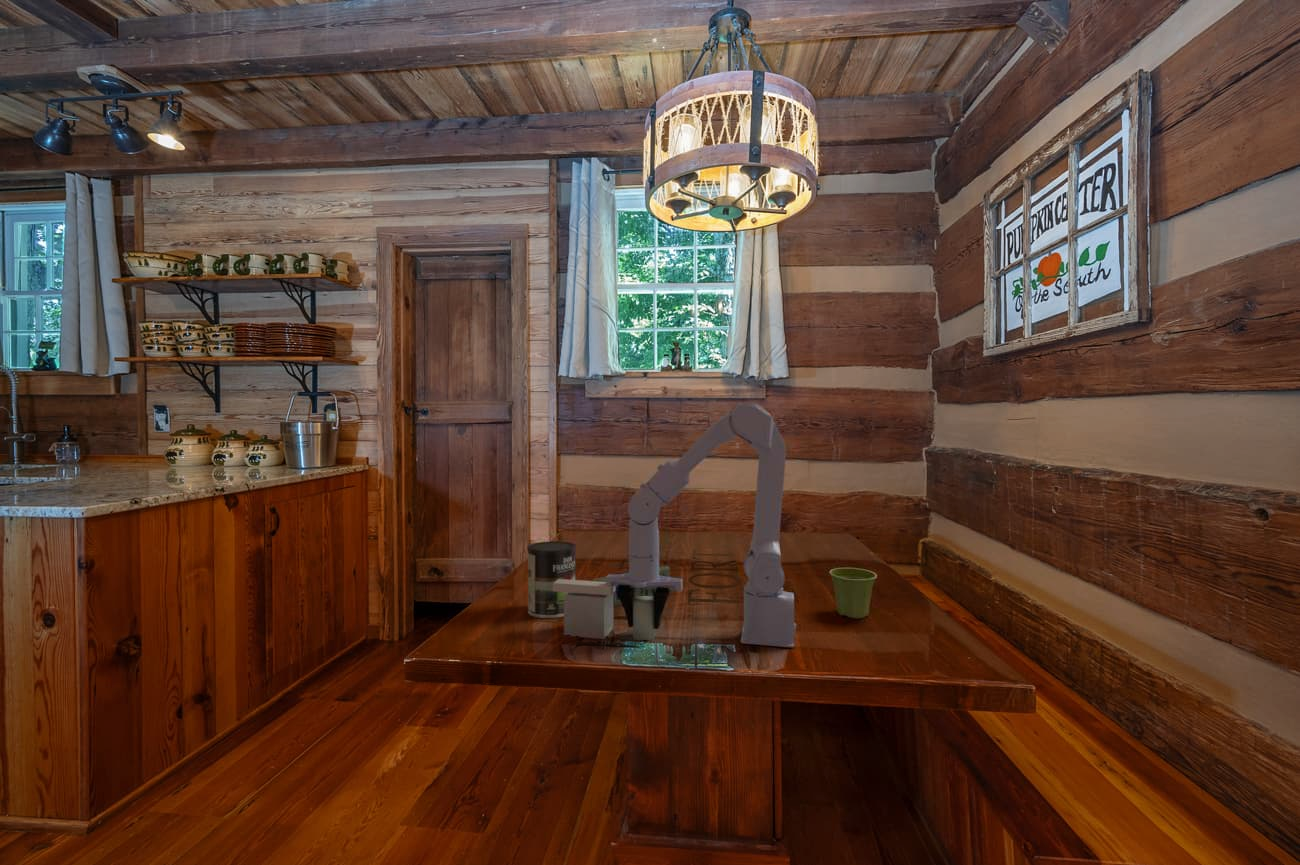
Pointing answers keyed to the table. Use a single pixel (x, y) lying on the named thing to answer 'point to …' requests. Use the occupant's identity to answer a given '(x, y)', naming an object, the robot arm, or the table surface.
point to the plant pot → (853, 591)
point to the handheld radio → (638, 591)
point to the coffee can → (548, 576)
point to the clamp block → (588, 615)
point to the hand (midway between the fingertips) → (644, 626)
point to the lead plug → (643, 618)
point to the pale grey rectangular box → (583, 587)
